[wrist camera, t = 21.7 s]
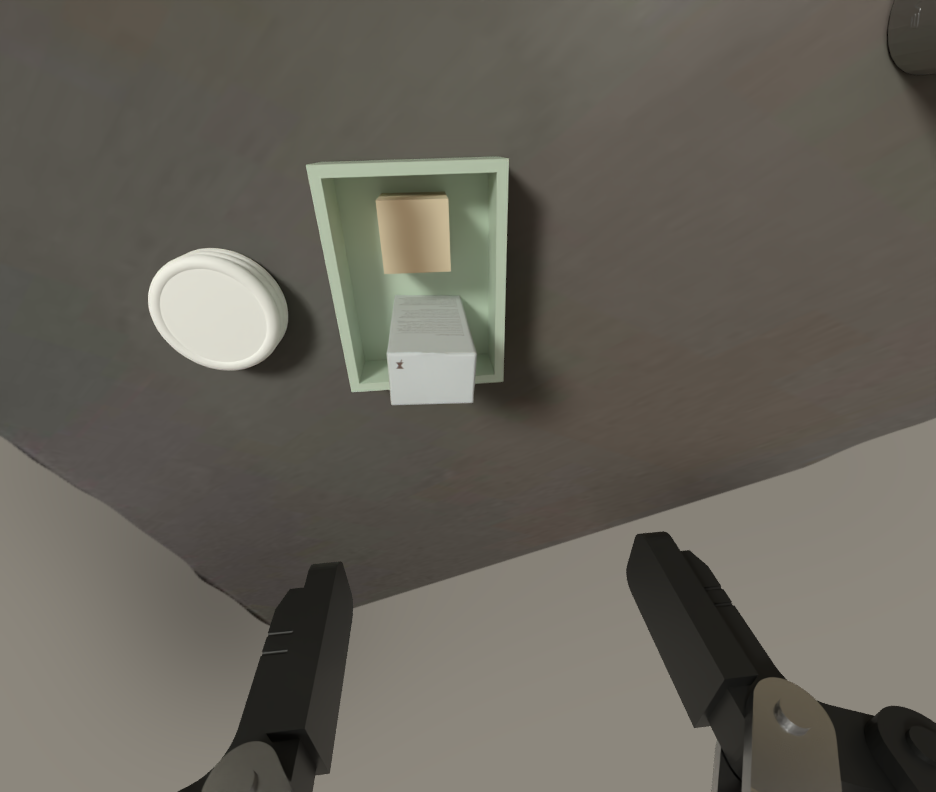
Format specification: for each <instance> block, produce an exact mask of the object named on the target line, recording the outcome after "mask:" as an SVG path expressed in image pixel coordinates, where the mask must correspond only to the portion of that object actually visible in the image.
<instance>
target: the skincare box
mask: <svg viewBox="0 0 936 792" xmlns="http://www.w3.org/2000/svg"><path fill="white" fill-rule="evenodd" d="M476 361H477V352H476V349H475V346H474V343H473V339H472V336H471V332H470V329H469V325H468V322H467V318H466V314H465V311H464V307H463V304H462V300H461V297H460V296H459V295H458V296H449V295H395V298H394V305H393V313H392V319H391V327H390V334H389V343H388V349H387V363H388V374H389V385H390V397H391V404H392V405H417V404H447V403H473V399H474V387H475V375H476Z"/></svg>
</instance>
